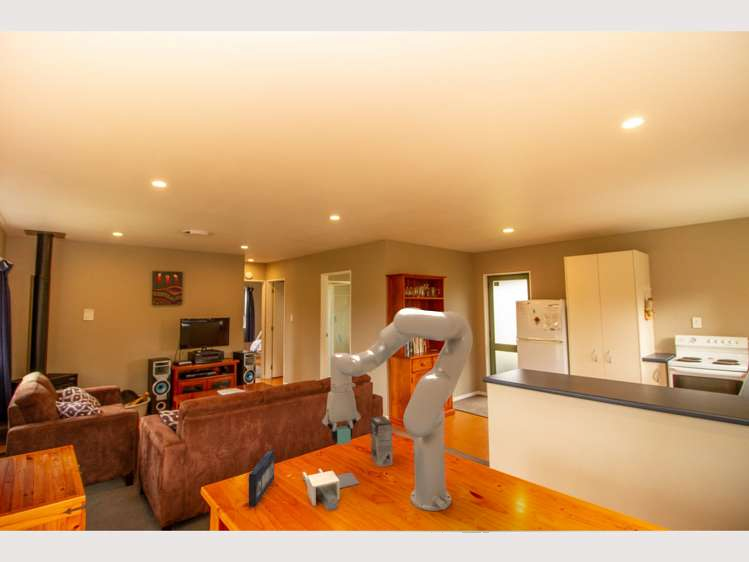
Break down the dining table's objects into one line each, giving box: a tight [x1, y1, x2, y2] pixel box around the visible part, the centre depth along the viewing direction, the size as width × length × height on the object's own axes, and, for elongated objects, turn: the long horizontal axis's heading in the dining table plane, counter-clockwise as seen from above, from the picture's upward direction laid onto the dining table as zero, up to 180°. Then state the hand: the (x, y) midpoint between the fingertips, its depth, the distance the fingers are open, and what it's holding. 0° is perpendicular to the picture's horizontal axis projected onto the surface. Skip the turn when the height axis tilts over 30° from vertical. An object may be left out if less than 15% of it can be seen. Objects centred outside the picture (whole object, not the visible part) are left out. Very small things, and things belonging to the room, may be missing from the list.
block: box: [336, 425, 352, 446], centre depth 127 cm, size 4×4×4 cm
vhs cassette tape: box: [247, 450, 275, 508], centre depth 121 cm, size 18×3×10 cm, turn 176°
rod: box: [316, 485, 339, 512], centre depth 115 cm, size 14×3×4 cm, turn 28°
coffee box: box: [369, 415, 394, 468], centre depth 143 cm, size 9×6×16 cm
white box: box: [302, 468, 341, 507], centre depth 122 cm, size 20×9×6 cm, turn 23°
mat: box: [336, 472, 361, 489], centre depth 127 cm, size 9×9×1 cm
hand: (342, 439), depth 128 cm, fingers closed on block, 4 cm apart
